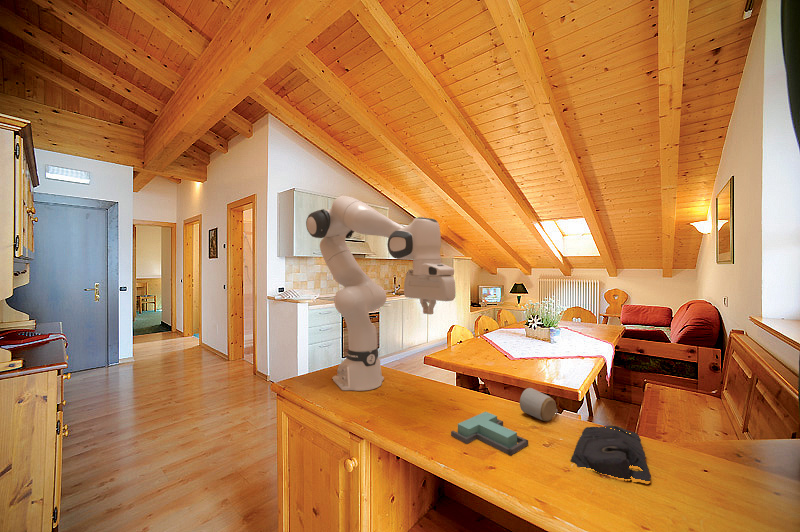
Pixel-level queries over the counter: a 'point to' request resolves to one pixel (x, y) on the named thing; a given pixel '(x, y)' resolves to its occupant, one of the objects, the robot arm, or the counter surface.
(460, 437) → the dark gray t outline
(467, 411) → the counter surface
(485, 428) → the teal T block
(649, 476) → the dark slate chunk
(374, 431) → the counter surface
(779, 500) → the counter surface
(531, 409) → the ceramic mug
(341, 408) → the counter surface
